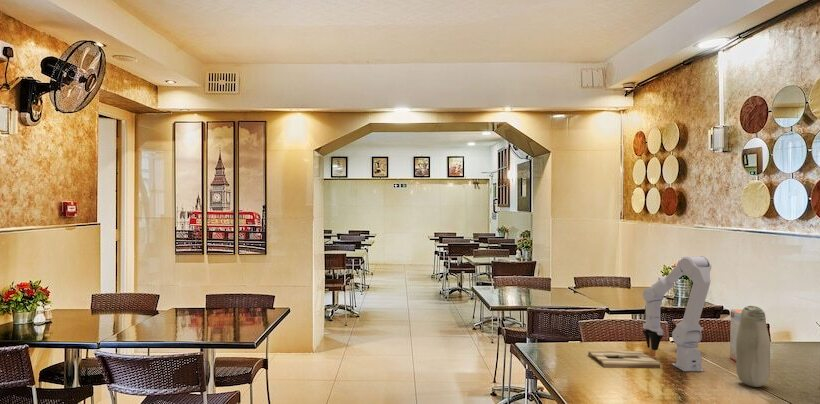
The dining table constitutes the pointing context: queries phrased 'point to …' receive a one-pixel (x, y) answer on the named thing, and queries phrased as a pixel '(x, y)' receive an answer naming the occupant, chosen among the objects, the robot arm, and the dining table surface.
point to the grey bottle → (753, 348)
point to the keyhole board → (624, 359)
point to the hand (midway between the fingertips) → (652, 348)
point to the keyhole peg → (652, 352)
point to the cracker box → (734, 331)
